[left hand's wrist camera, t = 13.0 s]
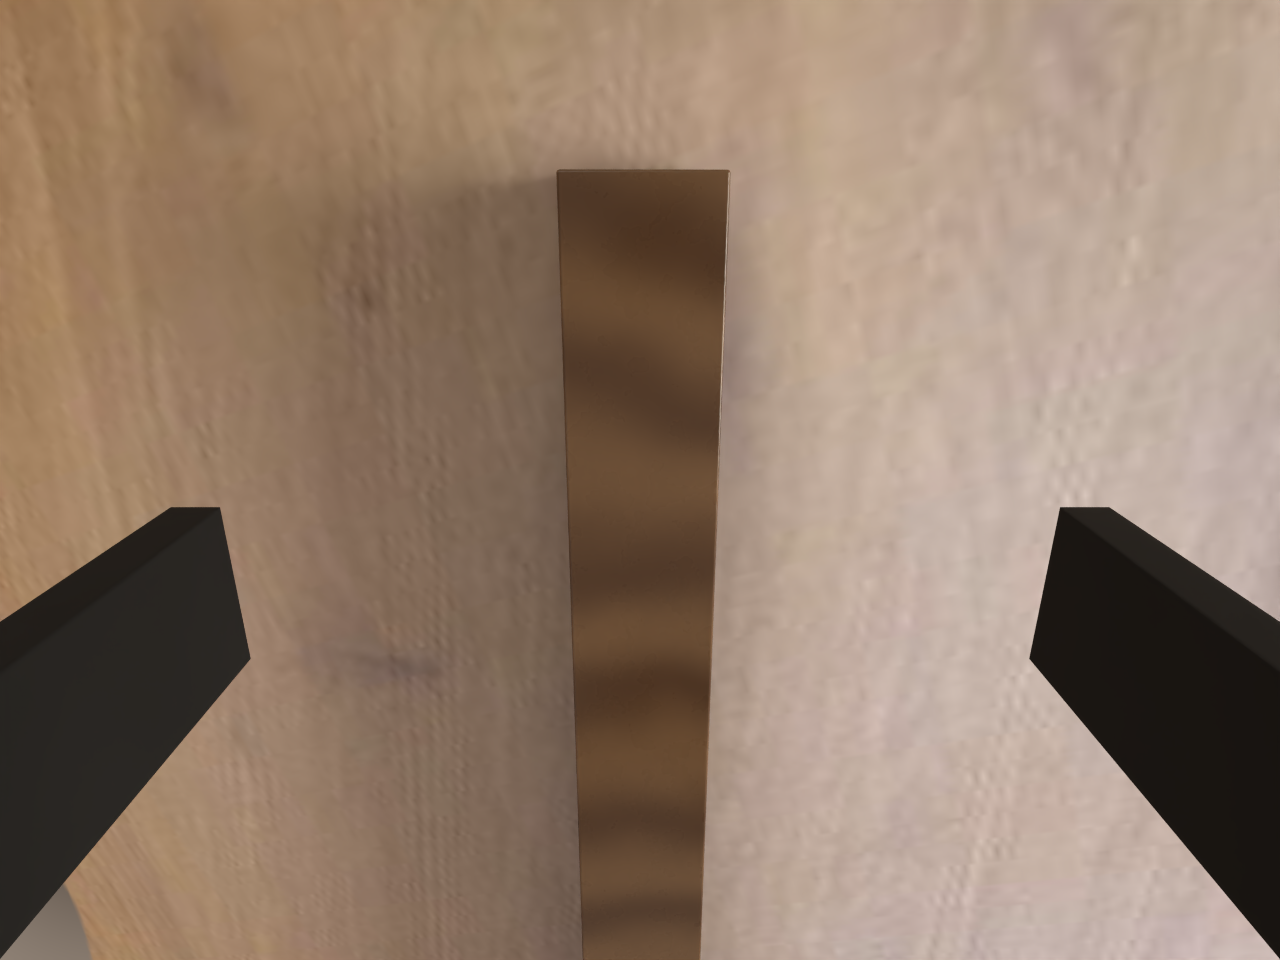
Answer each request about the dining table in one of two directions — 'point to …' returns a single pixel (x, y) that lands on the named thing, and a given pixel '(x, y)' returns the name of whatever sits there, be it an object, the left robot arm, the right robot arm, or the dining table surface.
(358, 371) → the dining table surface
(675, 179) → the bar
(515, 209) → the dining table surface
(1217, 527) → the dining table surface
